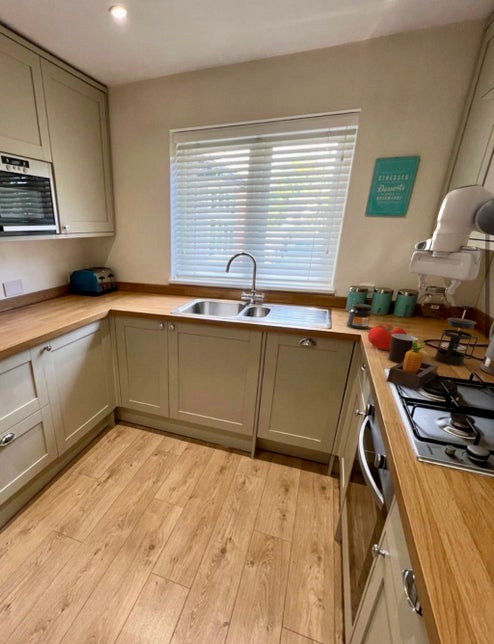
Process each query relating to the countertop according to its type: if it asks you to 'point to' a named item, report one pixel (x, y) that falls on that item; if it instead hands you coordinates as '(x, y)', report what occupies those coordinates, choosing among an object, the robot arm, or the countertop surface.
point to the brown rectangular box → (412, 376)
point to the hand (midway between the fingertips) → (434, 291)
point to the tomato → (383, 336)
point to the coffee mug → (400, 346)
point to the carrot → (413, 359)
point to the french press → (456, 341)
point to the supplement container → (359, 316)
